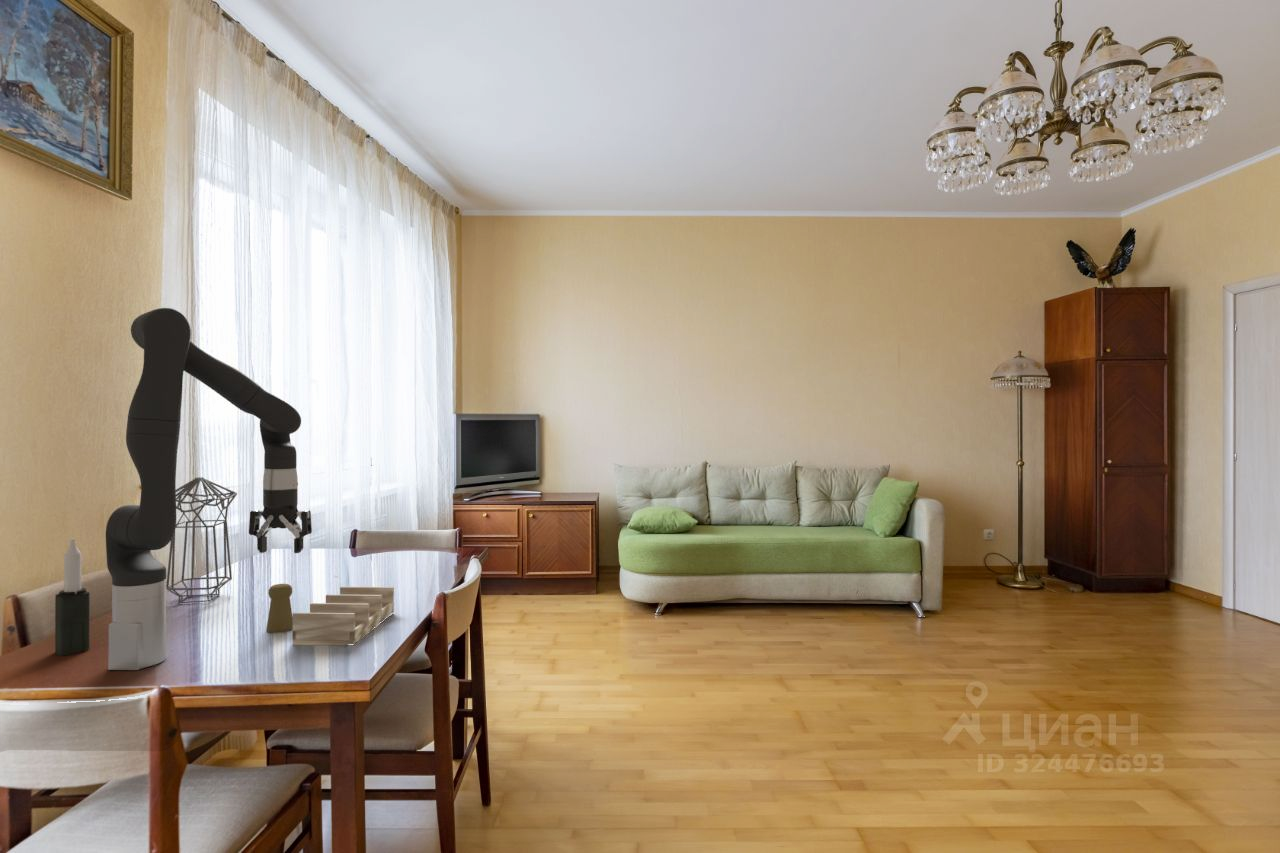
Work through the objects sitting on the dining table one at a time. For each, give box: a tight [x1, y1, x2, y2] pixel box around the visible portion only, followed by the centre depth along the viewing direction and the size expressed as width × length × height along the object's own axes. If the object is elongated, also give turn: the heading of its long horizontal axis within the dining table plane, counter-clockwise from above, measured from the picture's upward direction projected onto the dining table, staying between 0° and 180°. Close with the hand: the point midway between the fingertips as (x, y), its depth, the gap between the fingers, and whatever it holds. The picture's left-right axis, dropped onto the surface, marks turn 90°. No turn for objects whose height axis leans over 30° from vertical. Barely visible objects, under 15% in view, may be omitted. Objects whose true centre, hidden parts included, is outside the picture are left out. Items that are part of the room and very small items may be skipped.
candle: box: [54, 537, 91, 656], centre depth 150 cm, size 5×5×25 cm
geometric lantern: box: [166, 476, 238, 604], centre depth 193 cm, size 16×16×35 cm
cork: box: [265, 583, 293, 634], centre depth 167 cm, size 6×6×11 cm
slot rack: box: [291, 586, 395, 646], centre depth 168 cm, size 25×14×7 cm, turn 0°
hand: (280, 552), depth 167 cm, fingers open, 8 cm apart
